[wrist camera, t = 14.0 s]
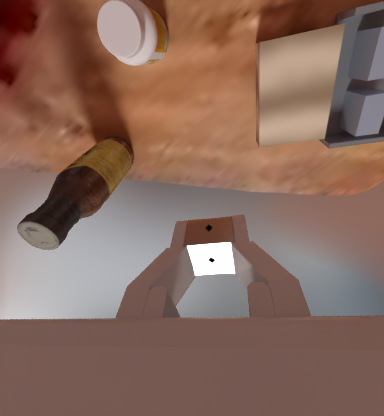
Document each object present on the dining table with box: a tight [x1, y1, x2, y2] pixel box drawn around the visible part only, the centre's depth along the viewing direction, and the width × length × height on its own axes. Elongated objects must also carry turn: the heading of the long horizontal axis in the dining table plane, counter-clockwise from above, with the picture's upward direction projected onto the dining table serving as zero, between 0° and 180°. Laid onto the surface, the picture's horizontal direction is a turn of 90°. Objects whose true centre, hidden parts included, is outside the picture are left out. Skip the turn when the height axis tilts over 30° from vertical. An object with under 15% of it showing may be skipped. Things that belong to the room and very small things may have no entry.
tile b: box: [338, 87, 384, 136], centre depth 26 cm, size 4×4×2 cm
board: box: [256, 23, 345, 148], centre depth 27 cm, size 12×8×3 cm
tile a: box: [347, 26, 384, 81], centre depth 23 cm, size 4×4×2 cm
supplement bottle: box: [97, 0, 169, 66], centre depth 22 cm, size 5×5×10 cm
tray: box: [320, 1, 384, 148], centre depth 25 cm, size 14×10×4 cm
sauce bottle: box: [17, 137, 134, 250], centre depth 28 cm, size 7×6×20 cm
